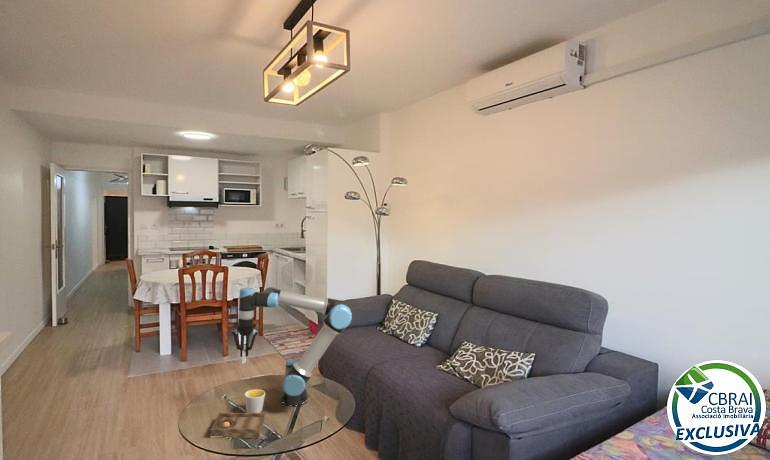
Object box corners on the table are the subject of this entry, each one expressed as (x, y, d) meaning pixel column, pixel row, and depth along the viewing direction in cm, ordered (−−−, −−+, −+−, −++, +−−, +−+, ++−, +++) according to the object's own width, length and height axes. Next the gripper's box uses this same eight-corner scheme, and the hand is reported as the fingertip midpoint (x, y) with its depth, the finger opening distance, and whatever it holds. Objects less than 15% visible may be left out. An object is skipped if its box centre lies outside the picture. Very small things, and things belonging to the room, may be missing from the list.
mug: (259, 418, 214) (260, 398, 213) (240, 416, 215) (241, 396, 215) (270, 406, 227) (271, 387, 227) (252, 404, 229) (253, 385, 228)
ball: (232, 423, 204) (225, 420, 204) (230, 424, 201) (224, 420, 201) (227, 430, 203) (221, 427, 203) (226, 431, 200) (219, 427, 200)
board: (264, 420, 212) (264, 413, 212) (258, 437, 196) (259, 429, 196) (219, 420, 209) (219, 413, 209) (209, 438, 194) (210, 429, 193)
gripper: (260, 316, 222) (258, 360, 223) (234, 315, 220) (232, 359, 221) (257, 320, 215) (255, 365, 216) (231, 319, 213) (229, 365, 214)
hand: (243, 362), depth 218 cm, fingers closed
